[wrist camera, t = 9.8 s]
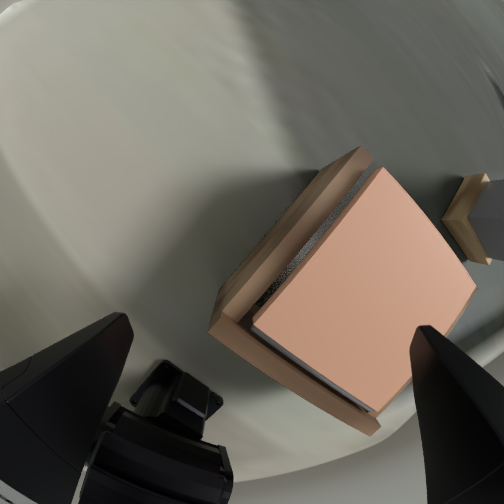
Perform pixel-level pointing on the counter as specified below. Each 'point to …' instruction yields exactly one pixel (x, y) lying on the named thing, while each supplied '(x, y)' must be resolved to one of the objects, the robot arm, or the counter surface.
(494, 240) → the granite block
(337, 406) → the walnut frame
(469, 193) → the oak plinth
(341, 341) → the terracotta flap
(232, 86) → the counter surface
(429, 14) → the counter surface
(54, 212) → the counter surface
